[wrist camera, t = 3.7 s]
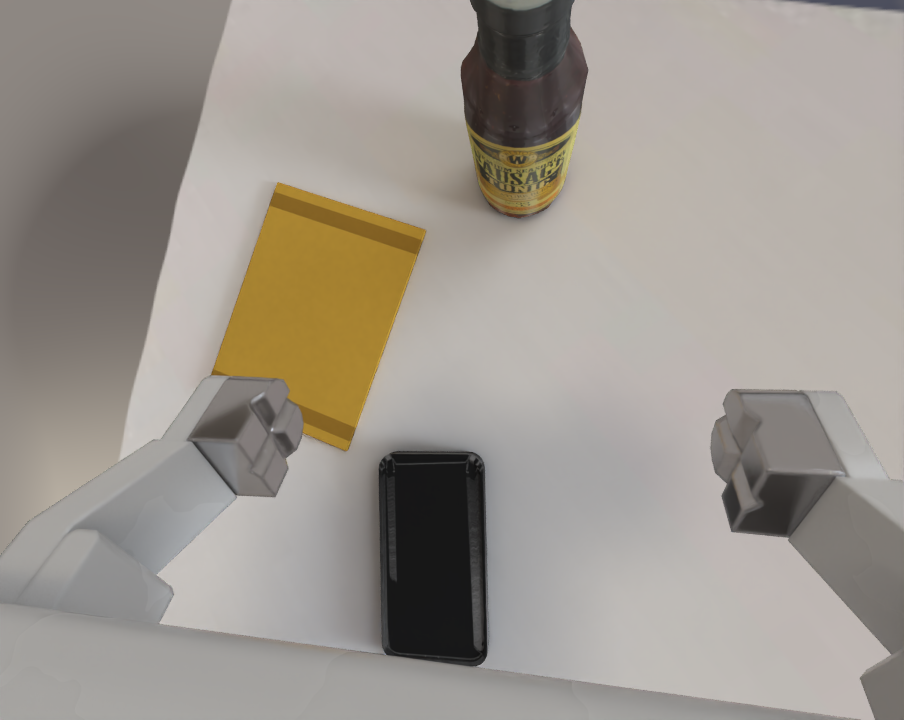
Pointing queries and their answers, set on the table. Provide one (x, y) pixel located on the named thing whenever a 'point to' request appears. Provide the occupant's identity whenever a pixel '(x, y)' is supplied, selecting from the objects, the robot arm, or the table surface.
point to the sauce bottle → (523, 101)
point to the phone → (434, 557)
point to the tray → (320, 306)
